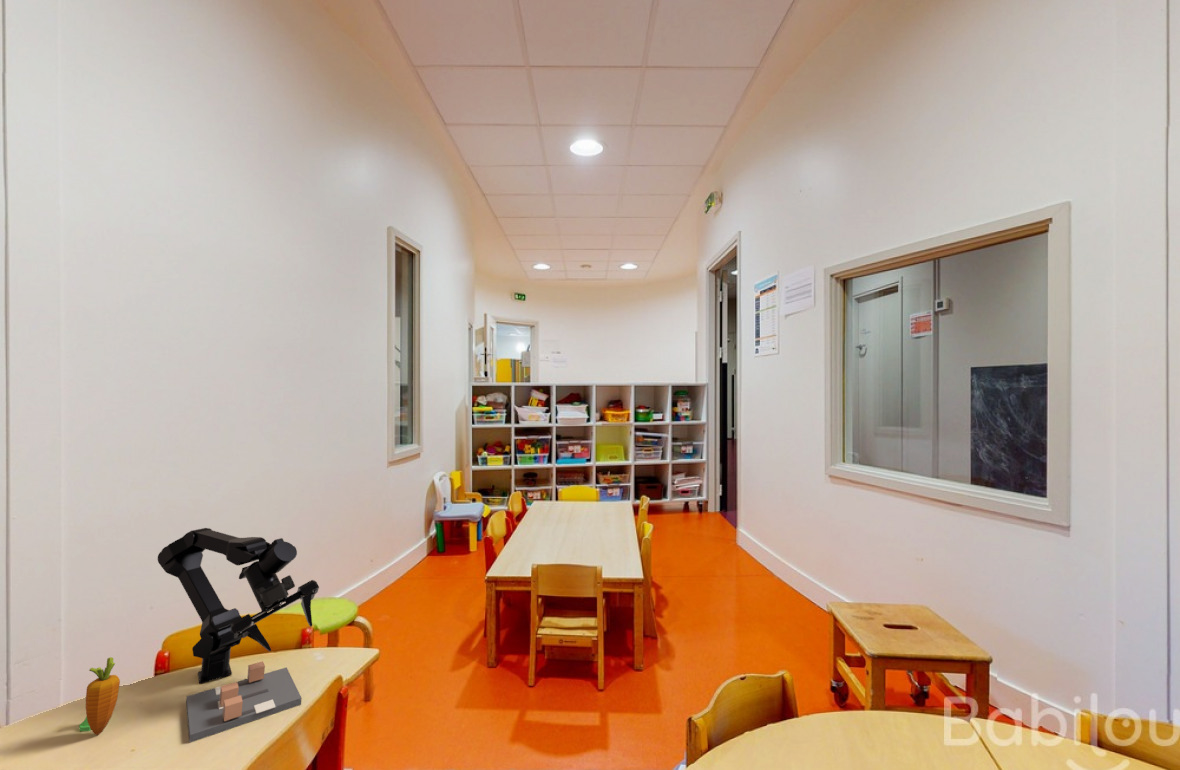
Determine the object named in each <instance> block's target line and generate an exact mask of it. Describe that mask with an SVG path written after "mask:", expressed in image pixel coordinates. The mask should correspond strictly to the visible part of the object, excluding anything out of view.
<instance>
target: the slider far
mask: <svg viewBox="0 0 1180 770" xmlns="http://www.w3.org/2000/svg"><path fill="white" fill-rule="evenodd" d="M247 668H248V669H247V678H246V679H248V681H249V683H250V682H253V681H257V680H260V679H264V674H265V668H266V666H265V662H264V661H263V660H262V661H258V662H255V663H251V664H248V666H247Z"/></svg>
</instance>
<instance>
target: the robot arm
mask: <svg viewBox="0 0 1180 770" xmlns="http://www.w3.org/2000/svg"><path fill="white" fill-rule="evenodd" d="M206 550H207V551H211V552H215V553H218V554H220V555H224V556H225V558H226V560H227V561H228V562H230V563H232V564H234V565H235V566H243V565H245V564H249V563H251V564H249V565H246V566H244V567H242V568H241V572H240V573H239V576H238V579H239V580H242V579H246V581H247V583H248V585H249V587H250V589H251V590H252V593H253V595H254V597H255V600H256V602H257V603H258V605H259V608H260V610H261V611H260V612H257V613H256V614H254V615H252V616H251V615H250V613H248V614H246V615H243V616H241V614H240V611H239V609H237V608H232V609H228V608H225V607H224V604H223V603H222V601H221V600H220V598H219V596H218V594H217V593H216V591H215V589H214V587H213V585H212V584H211V582H210V580H209V579H208V576H207V575H206V573H205V572H204V570H203V568H202V562H203V557H204V554H203V552H205V551H206ZM297 550H298V549H297V547H296V546H295V545H293V544H292V543H290V542H288V541H285V540H284V538H282V537H280V538H277V539H274V540H272V542H271V543H270V542H268V541H267V540H266V539H265V538H264V537H260V536H249V537H248V536H247V537H237V536H234V535H230V534H226V533H225V532H224V533H223V532H219V531H217V530H216V531H215V530H212V528H210V527H203V528H202V527H201V528H198V529H193V530H190V531H189V532H187V533H185V534H183V536H182V537H180V538H178V539H176V540H175V541H172V542H171V543H169V544H168V545H166V546H164V547H163V548H162V549H161V551H160V552H159V553H158V555H157V562H158V564H159V565H160V567H161V568H162V569H163V570H164V572H165V573H167V574H168V575H171V576H174V577H176V578H177V579H178V580H179V582H180V584H181V585H182V588H183V589H184V591H185V593H186V595H187V596H188V598H189V600H190V602H191V604H192V605H193V607H194V609H195V611H196V613H197V615H198V617H199V619H200V620H201V622H202V623H201V628H200V631H199V637H200V639H199V640H198V641H197V642H196V643H195V644H194V645H193V647H192V655H193V657H195V658H199V659H201V669H200V670H199V671H198V672H197V678H198V683H199V684H205V683H209V682H211V681H216V680H219V679H222V678H226V677H229V676H232V675H233V674H232V673H233V671H232V668H231V665H230V664H231V663H230V659H231V649H232V648H233V647H236V646H238V645H240V643H241V640H242V639H244V638H246V637H248V638H250V639H251V640H253V641H255V642H257V644H259V645H261V647H263V648H264V649H265V650H266V651H268V652H272V648H271V646H270V644H269V642H268V641H267V640H266V638H265V637H264V635H263V632H261V630H260V629H259V627H258V625H257V623H258V622H260V621H262V620H264V619H266V618H267V617H269V616H271V615H273V614H276V613H277V612H278V611H280V610H282V609H283V608H285V607H287V606H289V605H291V604H293V603H294V602H296V601H298V600H301V603H300V605H301V608H302V611H303V613H304V616H305V619H306V621H307V623H308V625H309V627H312V626H313V619H312V618H313V617H312V610H311V609H312V606H311V605H312V600H313V599H314V598H315V595H316V594H317V593H319V589H320V586H319V585H318V582H317V581H316V580H314V579H312V580H309V581H307V582H305V583H304V584H301V585H300V586H298V588H297V590H296V591H297V592H294V593H293V594H290V593H289V591H290V590H292V589H293V588H295V587H296V584H295V582H294V579H293V578H292V576H291V575H290V574H289V575H287V576H285V577H282V578H281V579H279V577H278V575H277V574H278V573H279V572H281V571H282V570H284V569H285V568H286V566H287V565H289V564H290V563H291V562H292V561H293V560H294V559H295V558H296V557H297V555H298V551H297ZM289 594H290V595H289Z"/></svg>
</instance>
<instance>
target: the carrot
mask: <svg viewBox="0 0 1180 770" xmlns="http://www.w3.org/2000/svg"><path fill="white" fill-rule="evenodd" d="M115 664H116V663H115V662H114V657H111V656H110V657H108V658H107V660H106V667H104V669H103V668H102V667H100V666H98V667H97V668H95V667H90V668H89V670H88V671H89V672H92V673H94V675H96V676H97V678H96V679H94V680H92V681H90V683H88V685H87V687H86V694H85V714H86V717H87V721H88V724H89V726H90V728H91V730H90V731H92V733H93V734H94V735H95V736H99V735H100V734H101V733H103V731H104V729H105V728H106V727H107V725H108V724H109V722H110V720H111V718H112V715H113V713H114V711H115V707H116V705H117V701H118V696H119V691H120V683H121V680H120V678H119V676H118V675H116V674H111V671H112V670H113V668H114V666H115Z"/></svg>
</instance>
